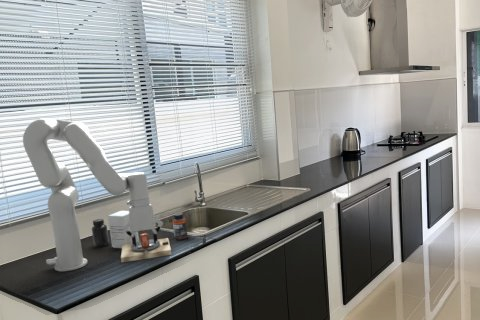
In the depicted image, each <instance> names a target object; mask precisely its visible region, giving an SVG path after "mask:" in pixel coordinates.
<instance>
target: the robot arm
mask: <svg viewBox="0 0 480 320" xmlns="http://www.w3.org/2000/svg"><path fill="white" fill-rule="evenodd" d="M50 140H53V141H54V140H55V141H62V142H66V143H68V145H69V146H70V147H71V148H72V150H73V151H74V152H75V153H76V154H77V155H78V156H79V157H80V159H81V160H82V161H83V162H84V163H85V164H86V166H87V168H88V169H89V170H90V172H91V173H92V175H93V176H94V178H95V179H96V180H97V182H98V183H99V184H100V185H101V186H102V187H103V188H104V189H105V190H106V191H107V193H109V194H110V195H113V196H121V195H123V193H125V191H127V190H128V194H129V200H128V201H126V205H128V206H129V209H128V211H129V221H130V222H129V223H128V224H127V225H126V226H124V227H123V231H124V232H126V233H127V234H128V235H129V236H131V238H132V243H133V245H134V246H135V247H136V237H135V233H136V232H138V233H139V232H144V231H150V230H151V231H152V236H153V238H152V239H153V240H154V244H156V241H157V240H158V235H157V234H158V232H159V231H161V228H162V227H163V225H164V222H163V221H162V220H160V219H157V218H156V217H155V212H154V208H153V204H152V203H150V196H149V195H150V194H149V189H148V187H149V186H148V179H147V174H146V173H145V172H143V171H140V172H139V171H137V172H131V173H118V172H117V171H116V170H115V169H114V168H113V166H112V165H111V163H110V162H109V160H108V159H107V155H106V153H105V151H104V148H102V147H101V145H100V144H99V143H98V142H97V141H96V140H95V139H94V138H93V136H92V135H91V134H90V130H89V127H87V125H86V124H84V123H82V122H78V121H70V120H63V119H57V118H39V119H38V118H37V119H36V120H33V121H32V122H31V123H30V124H29V125H28V126H27V127H26V128H25V130H24V132H23V135H22V144H23V148H24V150H25V152H26V155H27V157H28V159H29V161H30V164H31V166H32V168H33V171H34V172H35V175H36V177H37V179H38V181H39V183H40V184H41V186H43V187H44V188H47V189H50V190H51V191H50V192H51V193H50V195H49V197H48V200H47V209H48V212H49V213H48V214H49V216H50V220H51V227H52V232H53V238H54V246H55V251H56V256H55V257H54V258H48V259H46V260H45V261H46V262H45V263H46V265H48V266H51V265H52V266H53V265H54V270H55V271H57V272H71V271H74V270H78V269H80V268H83V267H85V266H86V265H88V263H89V261H88V259H87V258H85V257H84V256H83V249H82V243H81V242H82V241H81V235H80V228H79V221H78V216H77V212H76V207H75V206H76V205H77V204H78V201H79V197H80V195H79V191H78V188H77V187H76V184H75V183H74V180H73V178H72V175H71V172H70V171H69V169H68V168H67V166H66V165H65V164H63V163H62V162H58V161H57V160H56V158H55V156H54V153H53V152H52V150H51V148H50V146H49V144H48V141H50ZM156 224H158V225H157V226H156ZM129 226H130V229H131V231H132V232H130V231H129V230H128V229H127V228H128V227H129Z"/></svg>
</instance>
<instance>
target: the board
mask: <svg viewBox="0 0 480 320" xmlns="http://www.w3.org/2000/svg"><path fill="white" fill-rule="evenodd" d="M157 240H159V241H160V246H159V247H157V248H155V249H152V250H148V251H147V250H144V251H133V250H132V249H131V245H132V244H133V243H132V244H126V245H122V248H121V255H120V260H121V261H120V263H128V262H133V261H141V260H146V259H153V258H159V257H166V256H170V255H172V248H171V245H170V244H171V243H170V240H169V238H168V237H165V238H159V239H158V238H157Z"/></svg>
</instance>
